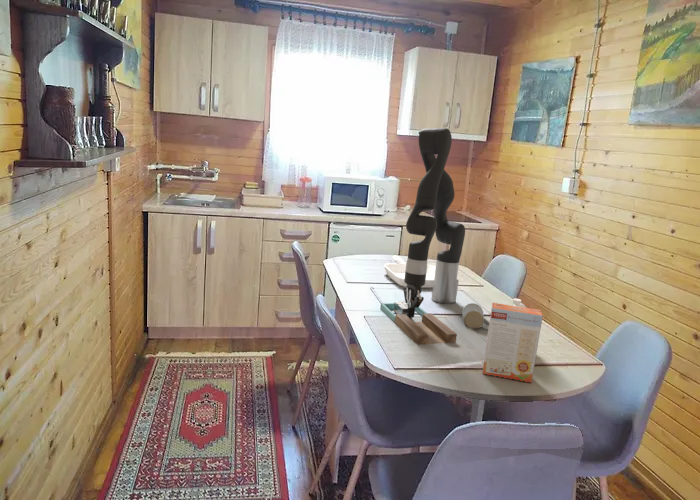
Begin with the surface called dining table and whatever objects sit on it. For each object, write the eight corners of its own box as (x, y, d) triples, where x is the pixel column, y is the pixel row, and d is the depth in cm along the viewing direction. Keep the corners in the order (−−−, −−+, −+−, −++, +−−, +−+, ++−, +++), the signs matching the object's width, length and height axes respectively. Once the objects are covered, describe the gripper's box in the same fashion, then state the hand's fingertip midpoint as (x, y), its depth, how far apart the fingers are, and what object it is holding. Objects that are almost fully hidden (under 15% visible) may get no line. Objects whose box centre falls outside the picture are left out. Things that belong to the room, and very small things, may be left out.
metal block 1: (402, 311, 203) (403, 301, 202) (407, 314, 200) (408, 304, 199) (393, 311, 202) (394, 301, 201) (397, 315, 198) (398, 305, 197)
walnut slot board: (430, 323, 194) (431, 313, 193) (455, 345, 176) (456, 333, 176) (394, 325, 190) (395, 314, 189) (416, 347, 172) (418, 335, 171)
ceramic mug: (462, 328, 192) (465, 308, 190) (460, 320, 200) (463, 301, 198) (492, 333, 191) (495, 313, 189) (489, 325, 199) (492, 305, 197)
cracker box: (530, 375, 159) (542, 309, 154) (531, 384, 153) (543, 315, 149) (482, 366, 162) (492, 301, 157) (481, 374, 157) (492, 307, 152)
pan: (399, 289, 233) (401, 279, 232) (369, 263, 273) (369, 254, 272) (455, 289, 241) (456, 279, 239) (417, 263, 281) (418, 255, 280)
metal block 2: (406, 314, 200) (407, 304, 199) (411, 318, 196) (412, 308, 195) (396, 315, 198) (398, 305, 197) (401, 319, 195) (402, 308, 194)
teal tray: (413, 310, 207) (414, 302, 207) (429, 323, 194) (430, 315, 194) (380, 310, 203) (380, 303, 202) (393, 324, 190) (394, 316, 189)
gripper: (433, 276, 185) (427, 323, 188) (417, 266, 197) (412, 310, 200) (414, 275, 182) (408, 323, 186) (399, 265, 194) (393, 310, 198)
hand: (410, 316), depth 193 cm, fingers closed
